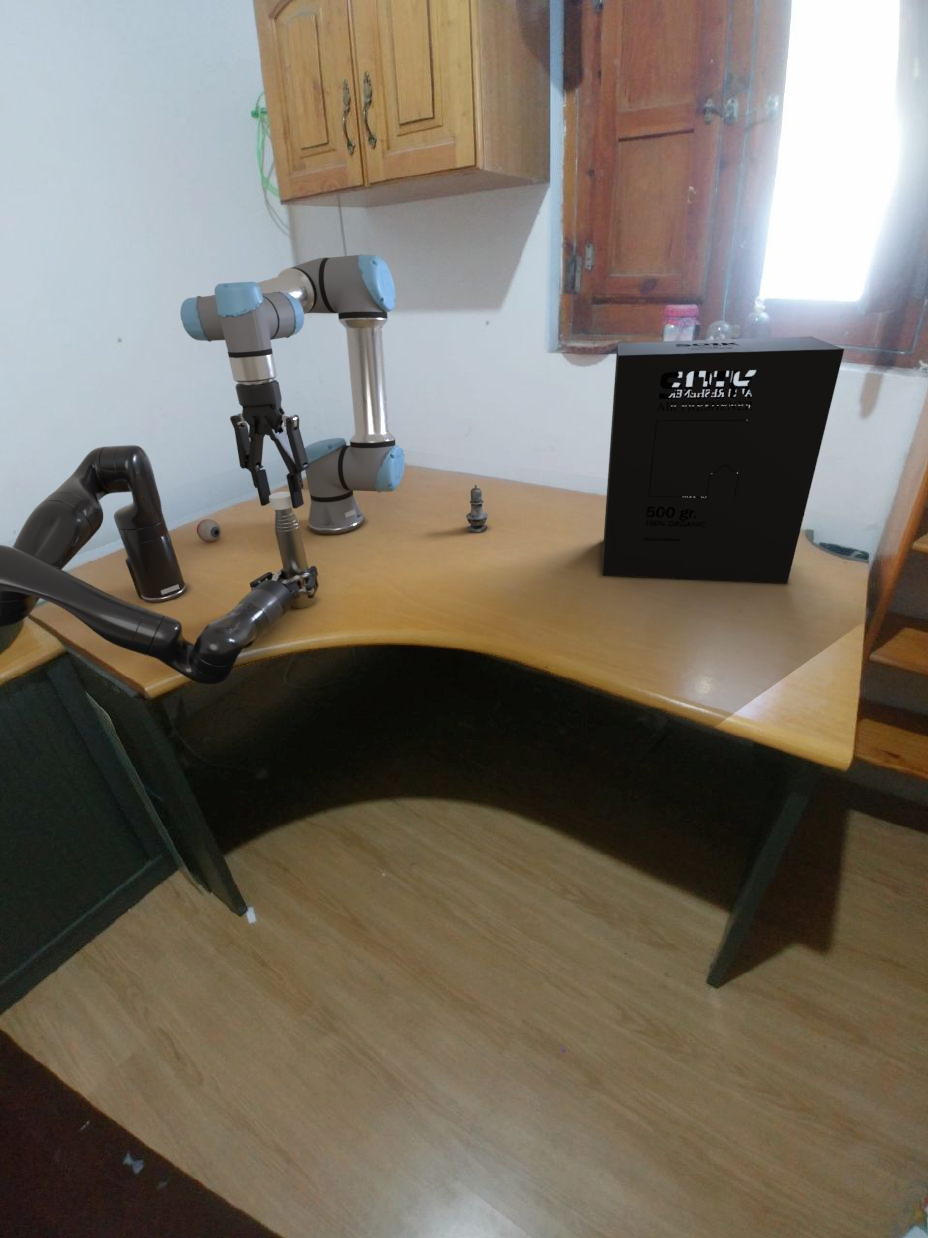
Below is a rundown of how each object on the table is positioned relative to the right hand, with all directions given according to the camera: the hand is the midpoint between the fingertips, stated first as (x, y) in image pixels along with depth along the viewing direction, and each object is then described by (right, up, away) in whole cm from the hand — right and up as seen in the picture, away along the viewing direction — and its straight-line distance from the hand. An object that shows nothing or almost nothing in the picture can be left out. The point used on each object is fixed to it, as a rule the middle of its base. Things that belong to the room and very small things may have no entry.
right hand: (282, 504), depth 119 cm
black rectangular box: (+87, -9, +19) cm, 90 cm away
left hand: (+1, -12, +10) cm, 16 cm away
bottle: (+1, -19, +11) cm, 22 cm away
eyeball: (-33, -2, +45) cm, 55 cm away
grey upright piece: (+40, +2, +43) cm, 58 cm away
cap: (0, +1, -1) cm, 2 cm away
